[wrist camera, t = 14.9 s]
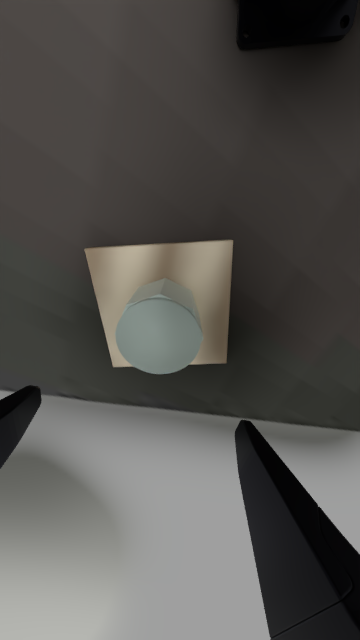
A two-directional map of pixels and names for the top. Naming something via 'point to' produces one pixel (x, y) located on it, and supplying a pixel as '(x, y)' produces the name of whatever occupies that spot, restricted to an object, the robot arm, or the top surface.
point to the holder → (176, 265)
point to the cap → (160, 328)
